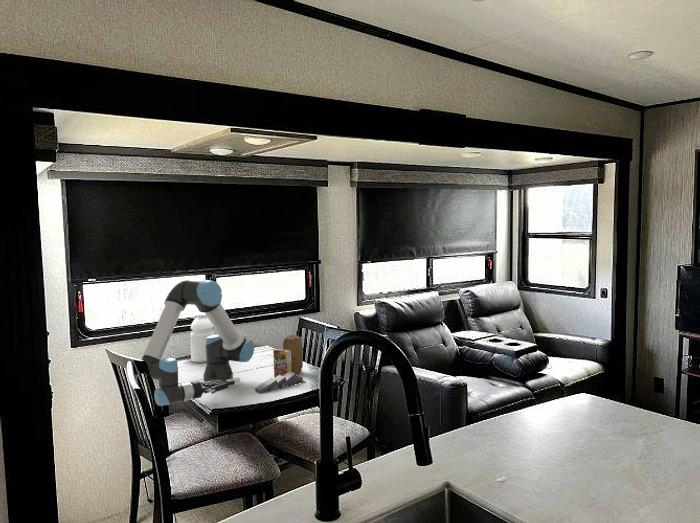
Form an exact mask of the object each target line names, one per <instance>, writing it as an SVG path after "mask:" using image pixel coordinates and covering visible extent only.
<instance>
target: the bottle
mask: <svg viewBox="0 0 700 523" xmlns="http://www.w3.org/2000/svg"><path fill="white" fill-rule="evenodd" d="M195 317H196V318H195V319H193V321H192V323H191V325H190V329H191V332H189V333H190V334H189V336H190V360H191V362H193V363H206V362H205V361H206V338H207V337H209V336H212V335H215V331H214V330H213V328H214V327H213V325H212V324H211V322H210V320H209V319H208V317H207V316H206V314H205V313H201V312H197V313H195Z"/></svg>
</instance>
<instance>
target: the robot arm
mask: <svg viewBox="0 0 700 523" xmlns="http://www.w3.org/2000/svg"><path fill="white" fill-rule="evenodd" d="M222 293H223V290H222V288H221V286H220V285H219V284H218V282H216V281H213V280H209V279H189V278H188V279H183V280H181V281H179V282H178V283H176V284H175V285H174V286H173V287H172V289H171V290H170V291H169V292H168V294H167V296H166V297H165V301H164V302H163V304H164V308H163V310H162V312H161V315H160V317H159V319H158V322H157V324H156V326H155V328H154V331H153V332H152V334H151V338H150V340H149V342H148V343H147V346H146V348H145V351H144V354H143V356H142V358H141V360H144V361H146V363H147V365H148V369H149V373H150V374H149V375H151V378H152V379H151V380H154V381H155V380H156V381H159V387H158V388H156V389H155V390H154V395H153V396H154V401H155V404H156V405H157V406H159V407H163V406H170V405H173V404H177V403H180V402H181V403H182V402H184V403H185V402H187V401H190V400H195V399H199V398H202V396H203V394H208V393H211V394H215V393H217V392H220V391H222V390H223V391H224V390H227V389H229V387H232V386H236V385H237V386H238V385H241V378H240V377H235V378H234V373H233V370H232V368H231V364H230V362H236V363H238V362H239V363H248V362H250V360H251V359H252V358H253V356H254V353H255V342H254V341H253V340H252V339H250V338H249V339H247V338H246V337H245V334H243V333H242V332H240V331H238V330H237V328H236V326H235V324H234V323H233V321H232V320H231V318H230V317H229V315H228V313H227V312H226V310H225V308H224V307H223V305H222V299H223V294H222ZM188 305H194V306H195V307H196V308H197V310H198V311H199V313H205V314H206V316H207V317H208V319H209V320H210V322H211V324H212V325H213V328H214V329H215V332H216V333H217V334H214V335H212V336H209V337H207V338H206V362H205V363H206V365H205V368H204V371H203V379H204V380H205V381H204V380H203V381H199V380H194V381H191V382H184V383H180V384H179V367H178V366H179V365H178V360H177V359H176V358H173V357H166V358H162V357H163V355H164V352H165V349H166V347H167V345H168V342H169V341H170V338H171V335H172V333H173V331H174V329H175V327H176V324H177V322H178V319H179V317H180V316H181V313H182V312H183V311H185V309H186V306H188Z"/></svg>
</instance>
